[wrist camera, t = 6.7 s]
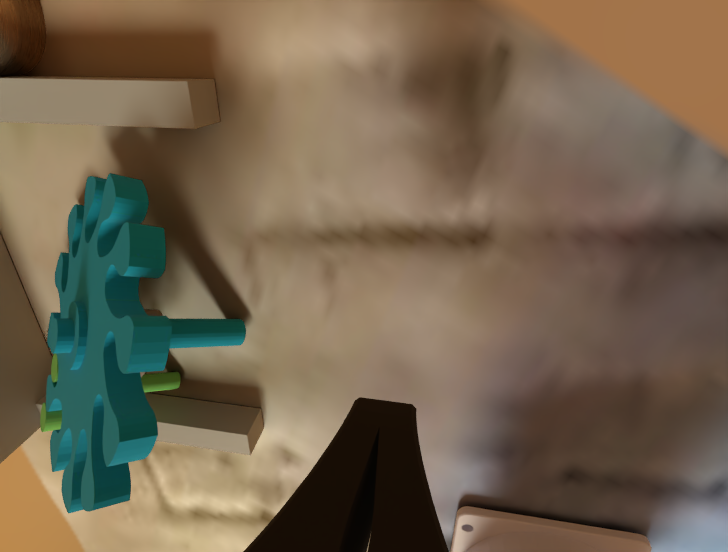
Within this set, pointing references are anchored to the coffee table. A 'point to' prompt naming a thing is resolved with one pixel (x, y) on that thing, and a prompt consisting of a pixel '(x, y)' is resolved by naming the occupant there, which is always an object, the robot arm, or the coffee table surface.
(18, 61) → the bushing
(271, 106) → the coffee table surface
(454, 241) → the coffee table surface
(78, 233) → the gear
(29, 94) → the cradle
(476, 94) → the coffee table surface
